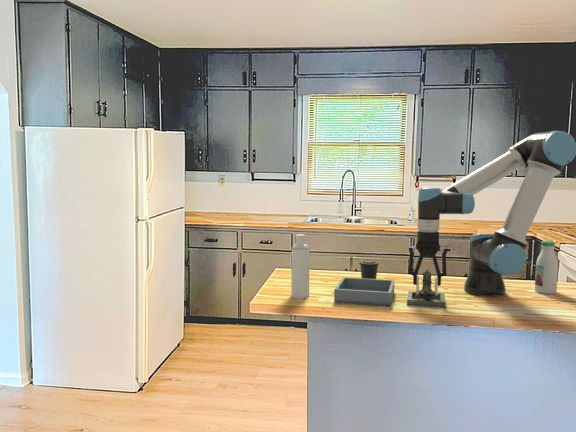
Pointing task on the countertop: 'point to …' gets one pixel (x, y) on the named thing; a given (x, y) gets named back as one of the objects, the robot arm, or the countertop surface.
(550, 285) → the milk bottle
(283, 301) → the countertop surface
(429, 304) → the collar
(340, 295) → the bin
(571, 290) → the countertop surface
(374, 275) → the coffee cup
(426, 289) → the dark grey tall piece
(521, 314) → the countertop surface
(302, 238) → the white plastic bottle
